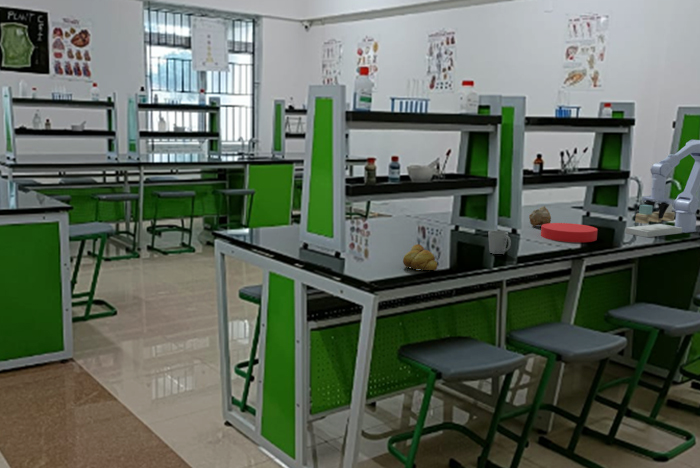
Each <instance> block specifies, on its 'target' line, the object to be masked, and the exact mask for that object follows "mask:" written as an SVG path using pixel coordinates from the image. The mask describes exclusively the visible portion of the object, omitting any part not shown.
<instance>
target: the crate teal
mask: <svg viewBox="0 0 700 468" xmlns="http://www.w3.org/2000/svg"><path fill="white" fill-rule="evenodd" d="M638 209H639V210H638V213H639V214H645V215H650V214H652V209H653V210H654V208H653V206H651V205H645V204H640V205H639V208H638Z"/></svg>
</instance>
